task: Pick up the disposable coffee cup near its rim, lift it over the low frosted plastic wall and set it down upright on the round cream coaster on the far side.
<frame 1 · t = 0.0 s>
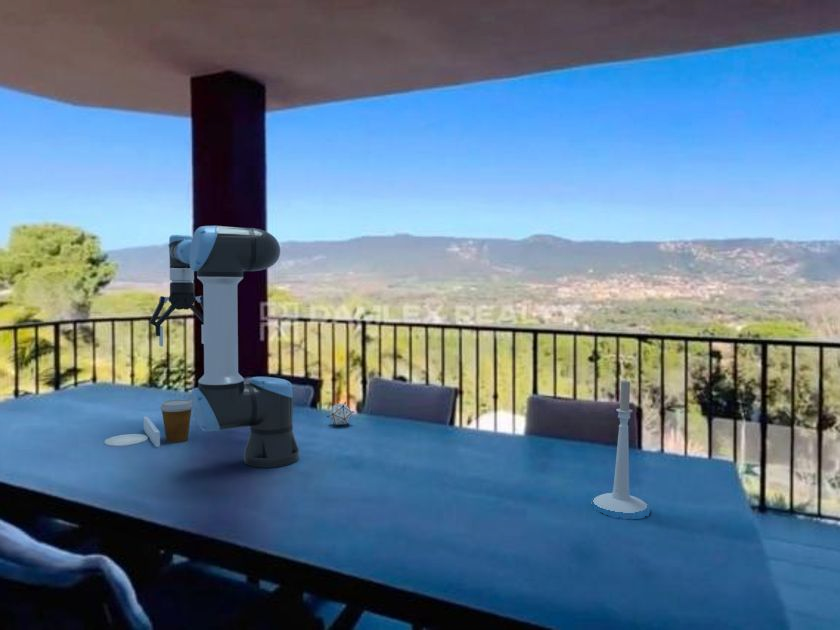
hand: (182, 344, 198), 28 cm above the table, tool pointing down, fingers open, 13 cm apart
coaster: (126, 440, 183), on the table
candlestick: (620, 509, 136), on the table
game die: (340, 426, 205), on the table
disposable coffee cup: (177, 440, 185), on the table
wall: (151, 438, 186), on the table
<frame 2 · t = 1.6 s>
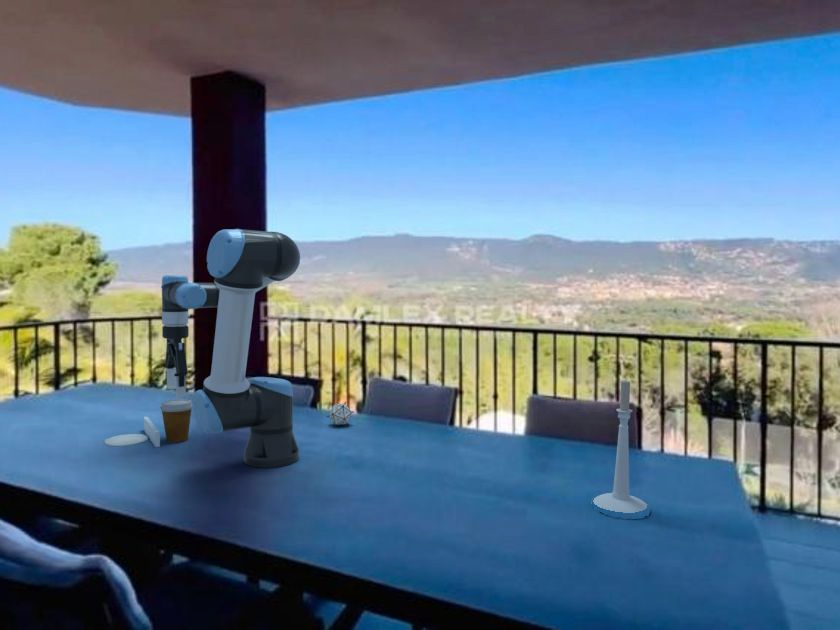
hand: (176, 392, 184), 15 cm above the table, tool pointing down, fingers open, 13 cm apart
nothing on the table moved.
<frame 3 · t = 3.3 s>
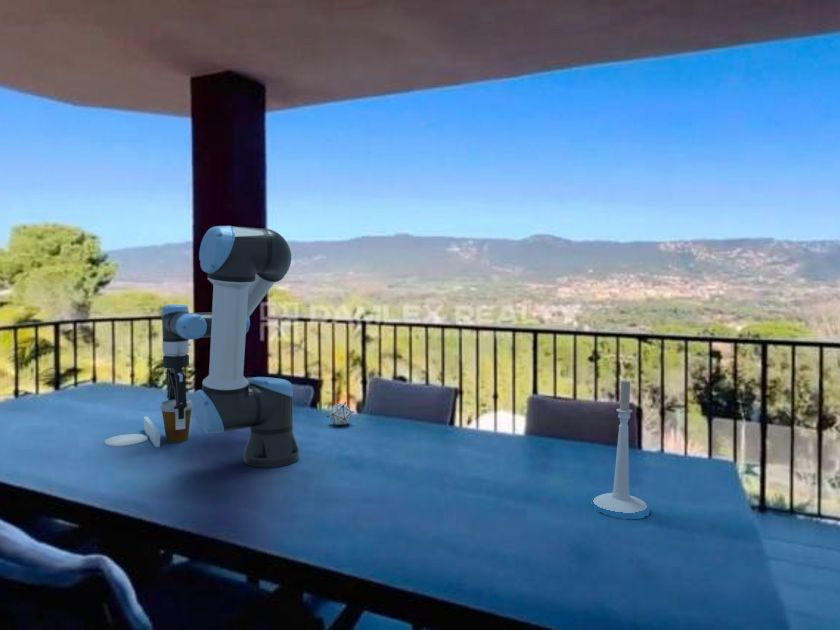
hand: (177, 425, 185), 5 cm above the table, tool pointing down, fingers closed on disposable coffee cup, 9 cm apart
disposable coffee cup: (177, 440, 185), on the table, touching gripper
everything else where it was.
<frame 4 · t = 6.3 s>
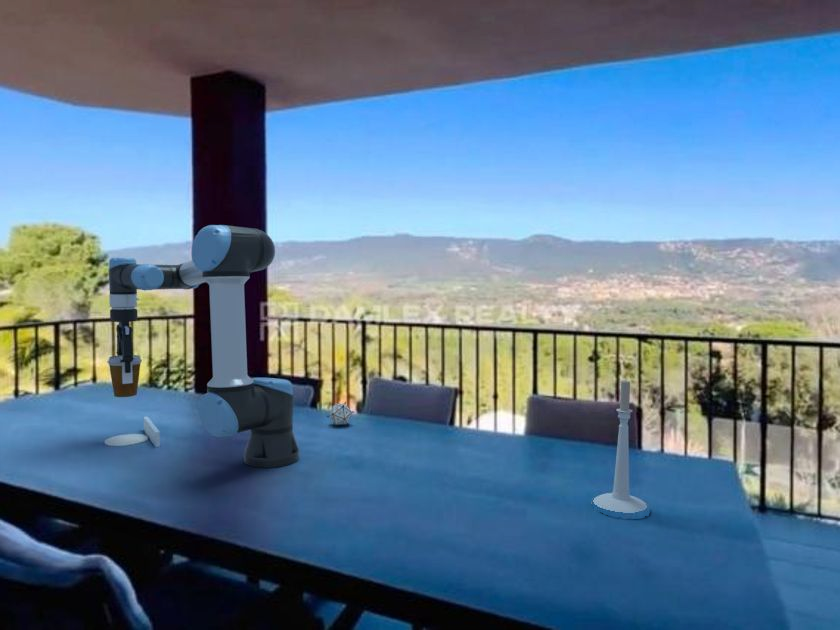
hand: (125, 380, 182), 19 cm above the table, tool pointing down, fingers closed on disposable coffee cup, 9 cm apart
disposable coffee cup: (125, 395, 182), point 14 cm above the table, touching gripper
everything else where it was.
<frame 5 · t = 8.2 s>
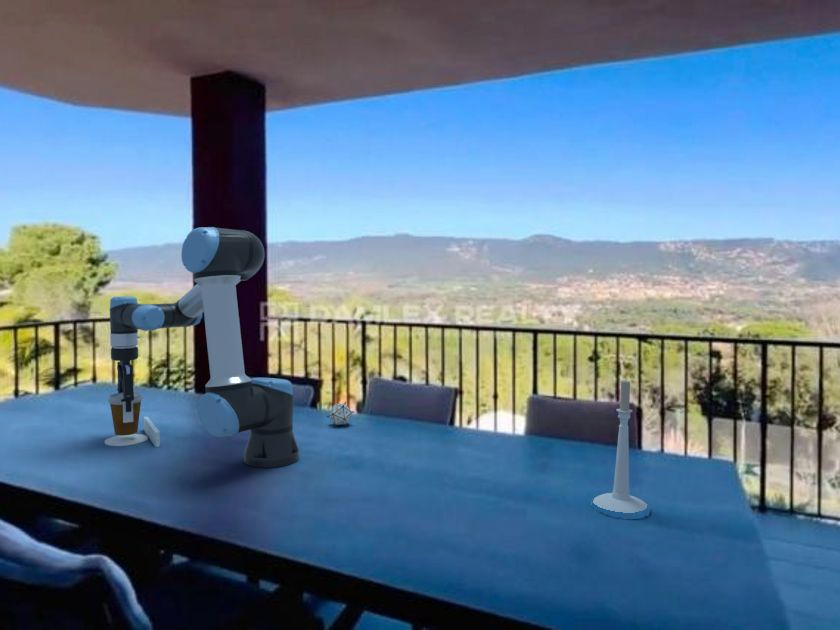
hand: (125, 418, 183), 7 cm above the table, tool pointing down, fingers closed on disposable coffee cup, 9 cm apart
disposable coffee cup: (126, 433, 183), point 2 cm above the table, touching gripper
everything else where it was.
when the fingers open (6 cm above the table, at t = 9.5 s): disposable coffee cup stays where it is, resting on coaster.
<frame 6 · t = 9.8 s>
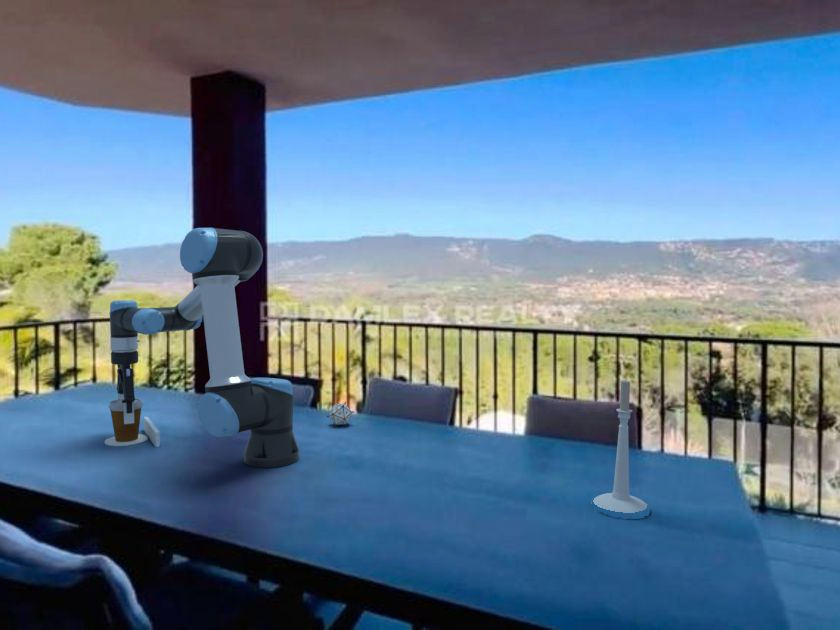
hand: (126, 418, 183), 7 cm above the table, tool pointing down, fingers open, 13 cm apart
disposable coffee cup: (126, 439, 183), resting on coaster
everything else where it was.
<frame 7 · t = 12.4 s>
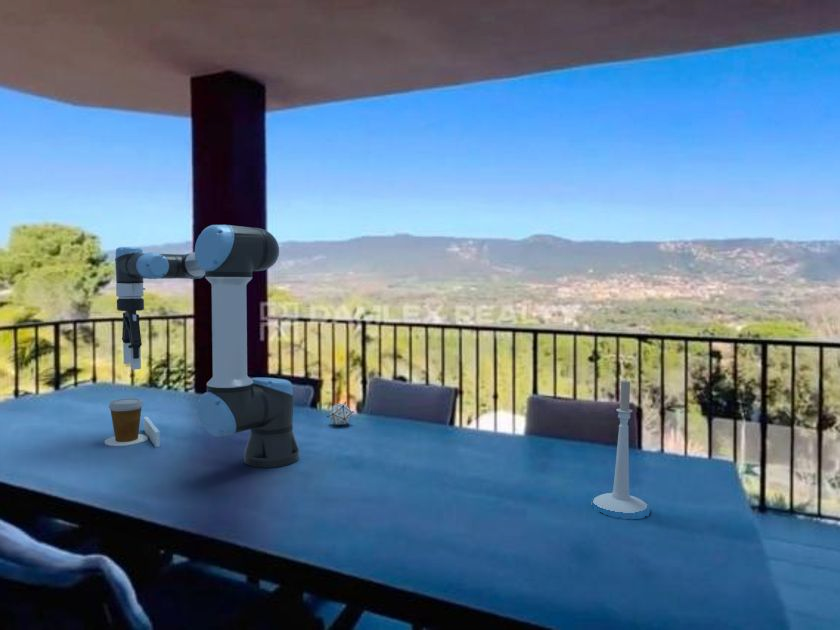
hand: (132, 366, 182), 23 cm above the table, tool pointing down, fingers open, 13 cm apart
nothing on the table moved.
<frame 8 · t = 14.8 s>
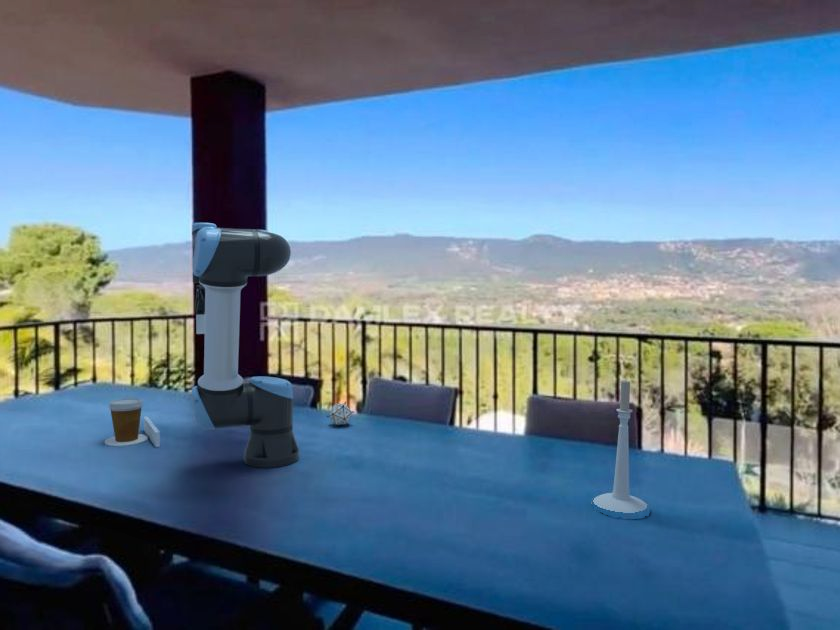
hand: (205, 335, 193), 32 cm above the table, tool pointing down, fingers open, 13 cm apart
nothing on the table moved.
at the end: disposable coffee cup 0.2 cm from the coaster (horizontally); disposable coffee cup tilted 0°; the gripper is holding nothing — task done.
